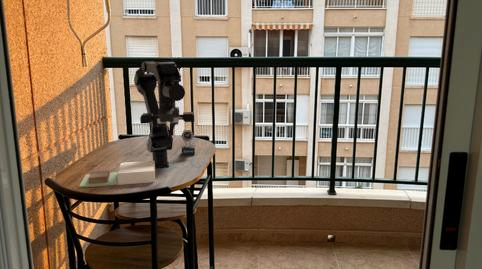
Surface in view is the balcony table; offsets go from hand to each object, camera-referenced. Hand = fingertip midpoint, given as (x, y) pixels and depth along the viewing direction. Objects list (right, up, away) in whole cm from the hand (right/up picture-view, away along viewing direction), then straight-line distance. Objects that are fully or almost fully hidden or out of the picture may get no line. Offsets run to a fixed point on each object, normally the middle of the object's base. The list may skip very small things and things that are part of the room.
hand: (169, 141), depth 145 cm
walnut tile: (-23, -11, -6) cm, 26 cm away
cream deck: (-11, -13, -2) cm, 17 cm away
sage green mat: (-23, -14, -5) cm, 27 cm away
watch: (+3, -6, +29) cm, 30 cm away
